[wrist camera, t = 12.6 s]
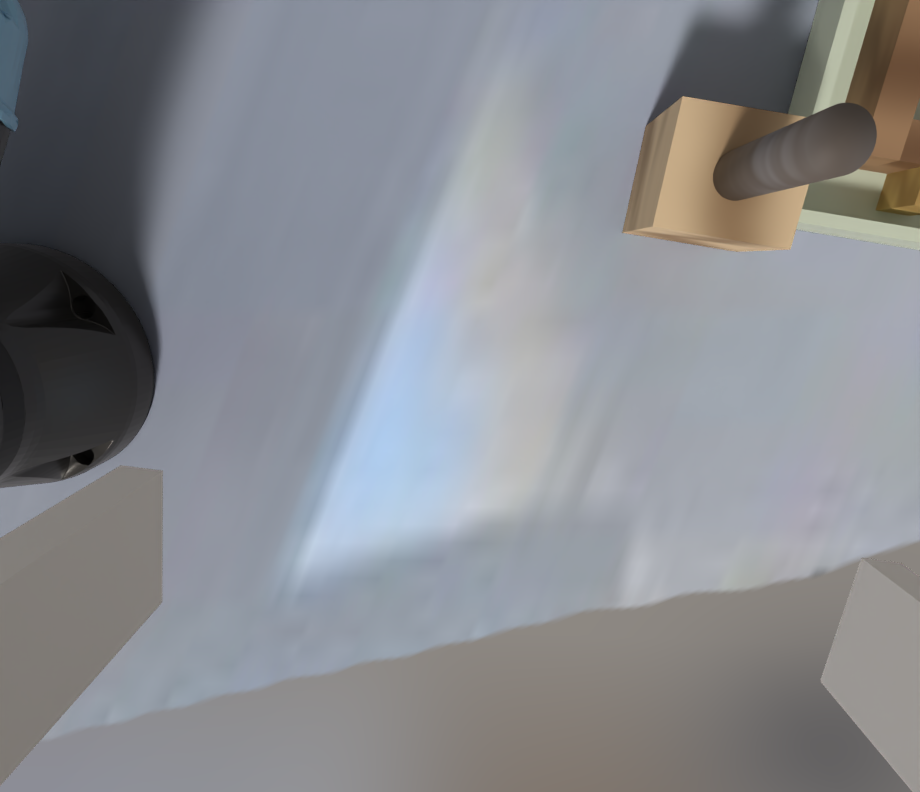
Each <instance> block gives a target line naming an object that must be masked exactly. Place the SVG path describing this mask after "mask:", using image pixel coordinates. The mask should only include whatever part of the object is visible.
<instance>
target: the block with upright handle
mask: <svg viewBox="0 0 920 792" xmlns="http://www.w3.org/2000/svg"><path fill="white" fill-rule="evenodd" d="M876 138H877V129H876V124H875V121H874V119H873V117H872V115H871V114H870V113H869V112H868V111H867V110H866V109H865V108H864V107H862V106H860V105H858V104H854V103H839V104H836V105H833V106H831V107H828V108H826V109H824V110H822V111H819V112H817V113H815V114H813V115H810V116H808V117H803V116H797V115H791V114H785V113H779V112H773V111H767V110H761V109H755V108H750V107H744V106H738V105H732V104H726V103H720V102H714V101H708V100H702V99H696V98H690V97H684V96H682V97H681V98H680V99H679V100H677V101H676V102H675V103H674V104H673V105H671V106H670V107H669V108H668V109H666V110H665V111H664V112H663V113H661V114H660V115H659V116H658V117H656V118H655V119H654V120H653V121H652V122H650V123H649V124H648V125H647V126H646V128H645V132H644V137H643V142H642V146H641V151H640V155H639V160H638V164H637V169H636V173H635V178H634V182H633V187H632V191H631V196H630V200H629V205H628V209H627V214H626V219H625V223H624V228H623V232H622V233H628V234H634V235H640V236H646V237H652V238H658V239H664V240H670V241H676V242H682V243H688V244H694V245H700V246H706V247H712V248H718V249H724V250H730V251H736V252H740V251H764V250H788V249H790V248H791V245H792V242H793V238H794V235H795V231H796V228H797V224H798V221H799V217H800V214H801V211H802V207H803V204H804V200H805V197H806V193H807V190H808V186H809V184H811V183H815V182H820V181H824V180H828V179H832V178H836V177H841V176H845V175H848V174H850V173H853V172H854V171H856V170H858V169H859V168H860V167H861V166H862V165H864V164H865V162H866V161H867V160H868V159H869V157H870V156H871V154H872V152H873V150H874V147H875V144H876Z"/></svg>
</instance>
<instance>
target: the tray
mask: <svg viewBox="0 0 920 792" xmlns="http://www.w3.org/2000/svg"><path fill="white" fill-rule="evenodd" d="M874 3H875V0H819V2H818V6H817V9H816V13H815V17H814V20H813V24H812V28H811V31H810V35H809V39H808V42H807V46H806V50H805V53H804V57H803V61H802V64H801V68H800V71H799V75H798V79H797V82H796V86H795V90H794V93H793V97H792V101H791V104H790V108H789V112H788V114H791V115H797V116H803V117H808V116H810V115H813V114H815V113H817V112H819V111H822V110H824V109H826V108H828V107H831V106H833V105H836V104H839V103H845V101H846V98H847V94H848V91H849V88H850V84H851V81H852V77H853V74H854V71H855V67H856V64H857V60H858V57H859V54H860V50H861V47H862V44H863V40H864V37H865V33H866V30H867V27H868V23H869V20H870V16H871V13H872V10H873V6H874ZM913 119H915V120H920V99H919V102H918V105H917V108H916V111H915V114H914V118H913ZM886 176H887V174H884V173H878V172H872V171H866V170H860V169H858V170H856V171H854V172H853V173H850V174H848V175H845V176H841V177H836V178H832V179H828V180H824V181H820V182H815V183H811V184H809V186H808V190H807V193H806V197H805V200H804V204H803V207H802V211H801V214H800V217H799V221H798V224H797V228H796V230H802V231H808V232H814V233H820V234H826V235H832V236H838V237H844V238H850V239H856V240H862V241H868V242H874V243H880V244H886V245H892V246H898V247H904V248H910V249H916V250H920V215H913V216H907V215H901V214H895V213H889V212H883V211H877V210H876V207H877V204H878V201H879V198H880V194H881V191H882V188H883V185H884V182H885V179H886Z"/></svg>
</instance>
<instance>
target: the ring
mask: <svg viewBox="0 0 920 792" xmlns="http://www.w3.org/2000/svg"><path fill="white" fill-rule="evenodd" d="M919 99H920V0H875V3H874V6H873V10H872V13H871V16H870V20H869V23H868V27H867V30H866V33H865V37H864V40H863V44H862V47H861V50H860V54H859V57H858V60H857V64H856V67H855V71H854V74H853V77H852V81H851V84H850V88H849V91H848V94H847V98H846V101H845V103H854V104H858V105H860V106H862V107H864V108H865V109H866V110H867V111H868V112H869V113H870V114H871V115H872V117H873V119H874V121H875V124H876V129H877V138H876V144H875V147H874V150H873V152H872V154H871V156H870V157H869V159H868V160H867V161H866V162H865V164H864V165H862V166H861V167H860V168H859V169H860V170H866V171H872V172H878V173H884V174H887V176H886V179H885V182H884V185H883V188H882V191H881V194H880V198H879V201H878V204H877V207H876V210H877V211H883V212H889V213H895V214H901V215H907V216H913V215H920V120H915V119H913V118H914V114H915V111H916V108H917V105H918V102H919Z"/></svg>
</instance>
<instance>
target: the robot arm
mask: <svg viewBox="0 0 920 792" xmlns="http://www.w3.org/2000/svg"><path fill="white" fill-rule="evenodd" d="M27 45H28V28H27V23H26V19H25V16H24V13H23V11H22V8H21V6H20V4H19V2H18V0H0V165H1V162H2V158H3V155H4V151H5V148H6V145H7V141H8V138H9V134H10V131H12V132H15V131H16V129H17V126H18V119H17V117H16V116H15V114H14V113H15V107H16V102H17V97H18V91H19V86H20V80H21V75H22V69H23V64H24V59H25V55H26V50H27ZM153 385H154V372H153V362H152V356H151V352H150V348H149V344H148V341H147V338H146V335H145V333H144V330H143V328H142V326H141V324H140V322H139V320H138V318H137V316H136V314H135V313H134V311H133V310H132V308H131V307H130V305H129V304H128V302H127V301H126V300H125V298H124V297H123V296H122V295H121V294H120V292H119V291H118V290H117V289H116V288H115V287H114V286H113V285H112V284H111V283H110V282H109V281H108V280H107V279H106V278H105V277H103V276H102V275H101V274H100V273H98V272H97V271H96V270H94V269H93V268H91V267H90V266H89V265H87V264H85V263H84V262H82V261H80V260H78V259H76V258H75V257H73V256H70V255H68V254H66V253H63V252H61V251H58V250H55V249H51V248H48V247H44V246H39V245H32V244H16V243H0V488H4V487H14V486H23V485H33V484H43V483H51V482H57V481H61V480H65V479H68V478H72V477H75V476H78V475H80V474H82V473H85V472H87V471H88V470H90V469H92V468H94V467H96V466H98V465H100V464H102V463H104V462H105V461H107V460H109V459H111V458H112V457H114V456H115V455H117V454H118V453H119V452H121V451H122V450H123V449H124V448H125V447H126V446H127V445H128V444H129V443H130V442H131V441H132V440H133V439H134V437H135V436H136V435H137V433H138V432H139V430H140V429H141V427H142V425H143V423H144V421H145V419H146V416H147V414H148V411H149V408H150V404H151V400H152V394H153ZM162 526H163V471H161V470H153V469H145V468H137V467H129V466H119V467H117V468H116V469H114V470H112V471H111V472H109V473H107V474H106V475H104V476H102V477H101V478H99V479H97V480H96V481H94V482H93V483H91V484H89V485H88V486H86V487H84V488H83V489H81V490H79V491H78V492H76V493H74V494H73V495H71V496H69V497H68V498H66V499H64V500H63V501H61V502H59V503H58V504H56V505H54V506H53V507H51V508H49V509H48V510H46V511H44V512H43V513H41V514H39V515H38V516H36V517H34V518H33V519H31V520H29V521H28V522H26V523H25V524H23V525H21V526H20V527H18V528H16V529H15V530H13V531H11V532H10V533H8V534H6V535H5V536H3V537H1V538H0V786H1V785H2V783H3V782H4V781H5V780H6V779H7V778H8V777H9V775H10V774H11V773H12V772H13V771H14V770H15V769H16V767H17V766H18V765H19V764H20V763H21V762H22V761H23V760H24V758H25V757H26V756H27V755H28V754H29V753H30V752H31V750H32V749H33V748H34V747H35V746H36V745H37V744H38V743H39V741H40V740H41V739H42V738H43V737H44V736H45V735H46V733H47V732H48V731H49V730H50V729H51V728H52V727H53V726H54V724H55V723H56V722H57V721H58V720H59V719H60V718H61V716H62V715H63V714H64V713H65V712H66V711H67V710H68V709H69V707H70V706H71V705H72V704H73V703H74V702H75V701H76V699H77V698H78V697H79V696H80V695H81V694H82V693H83V691H84V690H85V689H86V688H87V687H88V686H89V685H90V684H91V682H92V681H93V680H94V679H95V678H96V677H97V676H98V674H99V673H100V672H101V671H102V670H103V669H104V668H105V667H106V665H107V664H108V663H109V662H110V661H111V660H112V659H113V657H114V656H115V655H116V654H117V653H118V652H119V651H120V650H121V648H122V647H123V646H124V645H125V644H126V643H127V642H128V640H129V639H130V638H131V637H132V636H133V635H134V634H135V633H136V631H137V630H138V629H139V628H140V627H141V626H142V625H143V623H144V622H145V621H146V620H147V619H148V618H149V617H150V615H151V614H152V613H153V612H154V611H155V610H156V609H157V608H158V606H159V605H160V604H161V603H162ZM820 681H821V683H822V684H823V685H824V686H825V687H826V689H828V691H829V692H830V693H831V695H832V696H833V697H834V698H835V699H836V700H837V702H838V703H839V704H840V705H841V707H842V708H843V709H844V710H845V711H846V713H847V714H848V715H849V716H850V717H851V719H852V720H853V721H854V722H855V723H856V725H857V726H858V727H859V728H860V729H861V731H862V732H863V733H864V734H865V735H866V737H867V738H868V739H869V740H870V741H871V743H873V745H874V746H875V747H876V749H877V750H878V751H879V752H880V753H881V755H882V756H883V757H884V758H885V759H886V761H887V762H888V763H889V764H890V765H891V766H892V768H893V769H894V770H895V771H896V773H897V774H898V775H899V776H900V777H901V779H902V780H903V781H904V782H905V783H906V785H907V786H908V787H909V788H910V789H911V791H912V792H920V576H919V575H918V574H916V573H915V572H913V571H912V570H911V569H909V568H908V567H906V566H905V565H904V564H902V563H898V562H890V561H882V560H874V559H866V558H861V561H860V564H859V567H858V570H857V573H856V576H855V579H854V582H853V585H852V589H851V591H850V594H849V597H848V600H847V603H846V606H845V609H844V612H843V615H842V618H841V621H840V624H839V627H838V630H837V633H836V635H835V639H834V641H833V645H832V647H831V651H830V654H829V656H828V660H827V662H826V665H825V668H824V671H823V674H822V677H821V680H820Z"/></svg>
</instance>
